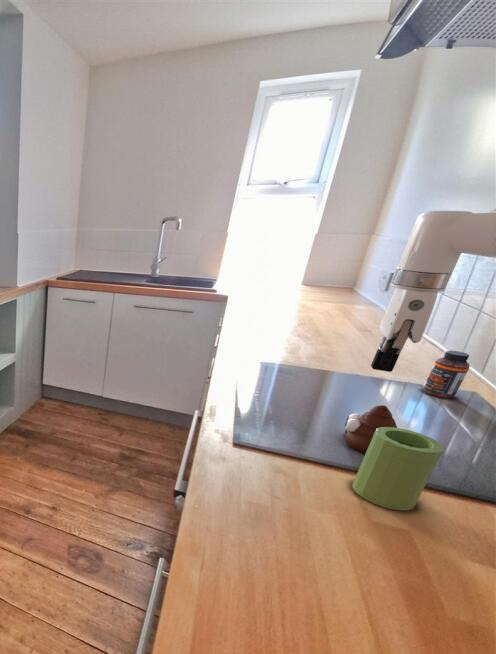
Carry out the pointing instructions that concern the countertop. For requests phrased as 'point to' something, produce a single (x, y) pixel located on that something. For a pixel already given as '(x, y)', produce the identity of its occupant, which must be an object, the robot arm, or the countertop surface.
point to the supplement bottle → (447, 374)
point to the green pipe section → (396, 467)
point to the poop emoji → (366, 427)
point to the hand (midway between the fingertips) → (380, 369)
